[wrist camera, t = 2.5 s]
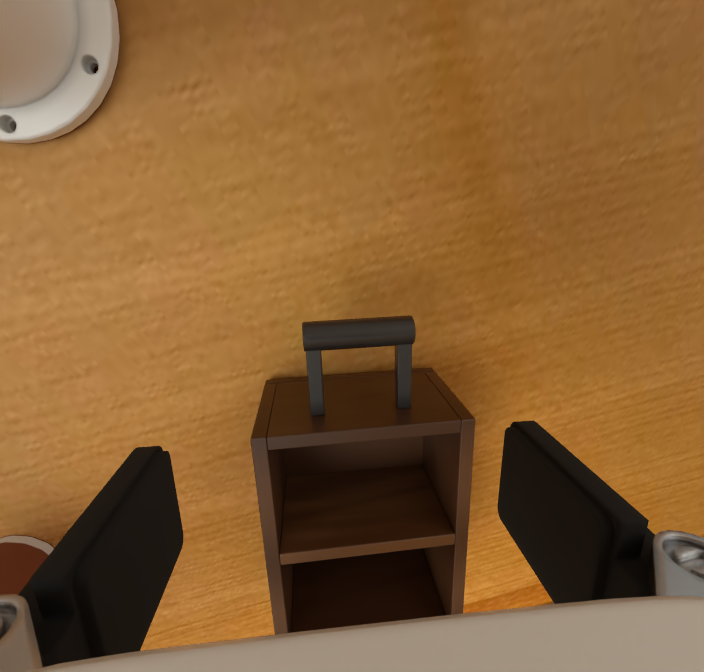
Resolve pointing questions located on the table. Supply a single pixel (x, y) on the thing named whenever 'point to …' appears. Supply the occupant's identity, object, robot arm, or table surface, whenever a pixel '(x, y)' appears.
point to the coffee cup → (20, 561)
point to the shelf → (362, 486)
